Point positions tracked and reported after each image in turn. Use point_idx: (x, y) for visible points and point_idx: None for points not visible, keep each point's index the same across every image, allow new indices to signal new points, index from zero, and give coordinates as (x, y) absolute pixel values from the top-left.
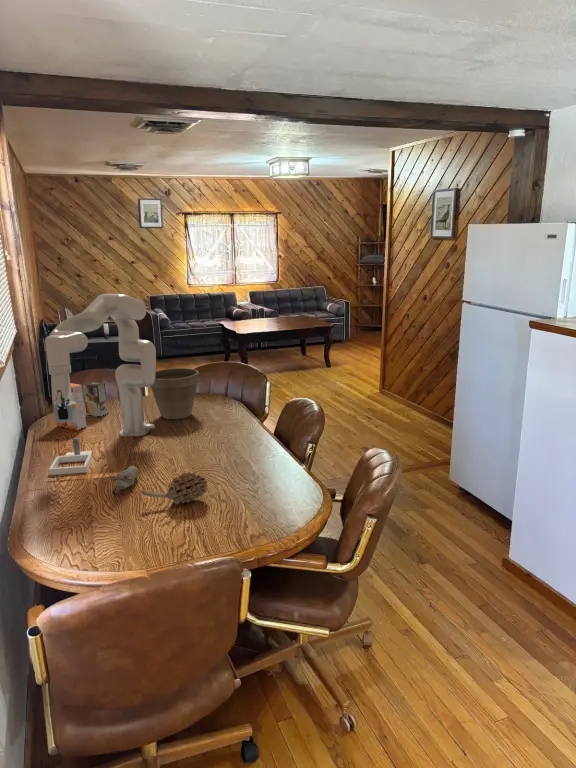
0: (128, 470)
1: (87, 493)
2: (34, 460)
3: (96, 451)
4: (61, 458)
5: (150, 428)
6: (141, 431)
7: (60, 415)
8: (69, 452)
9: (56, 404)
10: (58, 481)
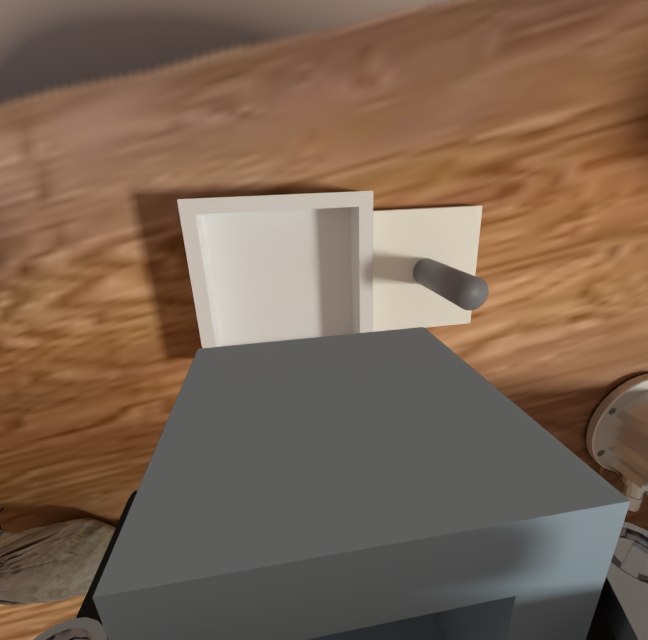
0: (59, 599)
1: (15, 411)
2: (451, 32)
3: (483, 328)
4: (356, 218)
5: (622, 489)
6: (615, 459)
7: (120, 520)
8: (479, 220)
9: (334, 584)
10: (146, 253)
